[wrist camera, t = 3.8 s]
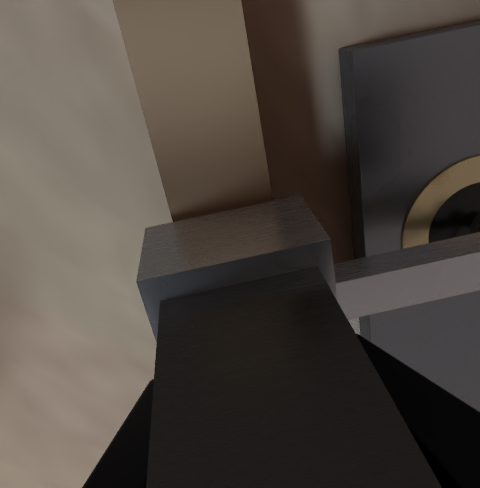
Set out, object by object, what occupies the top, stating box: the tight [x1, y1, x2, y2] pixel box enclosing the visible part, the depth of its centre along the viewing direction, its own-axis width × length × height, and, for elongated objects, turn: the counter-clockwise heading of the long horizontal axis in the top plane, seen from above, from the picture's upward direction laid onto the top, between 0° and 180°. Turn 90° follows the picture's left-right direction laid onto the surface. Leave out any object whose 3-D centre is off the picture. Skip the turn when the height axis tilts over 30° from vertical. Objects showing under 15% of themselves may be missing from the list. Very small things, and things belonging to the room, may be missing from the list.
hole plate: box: [339, 20, 480, 412], centre depth 15 cm, size 22×6×1 cm, turn 10°
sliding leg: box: [136, 195, 480, 488], centre depth 8 cm, size 4×9×8 cm, turn 101°
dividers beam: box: [113, 0, 273, 222], centre depth 13 cm, size 25×9×6 cm, turn 10°
